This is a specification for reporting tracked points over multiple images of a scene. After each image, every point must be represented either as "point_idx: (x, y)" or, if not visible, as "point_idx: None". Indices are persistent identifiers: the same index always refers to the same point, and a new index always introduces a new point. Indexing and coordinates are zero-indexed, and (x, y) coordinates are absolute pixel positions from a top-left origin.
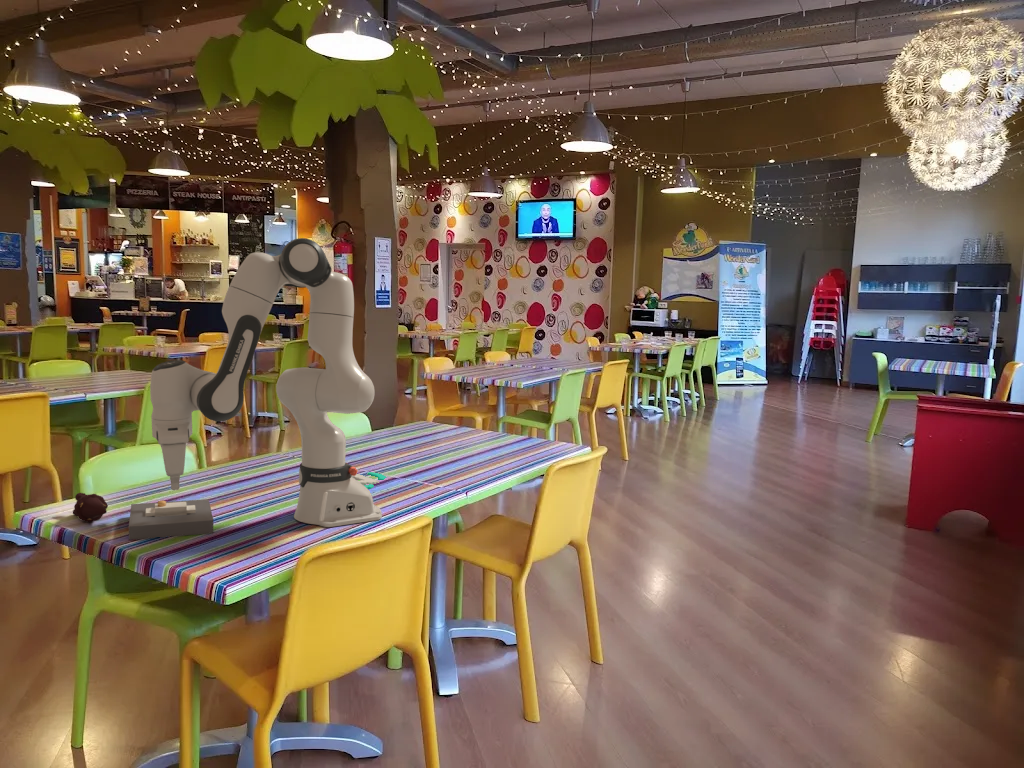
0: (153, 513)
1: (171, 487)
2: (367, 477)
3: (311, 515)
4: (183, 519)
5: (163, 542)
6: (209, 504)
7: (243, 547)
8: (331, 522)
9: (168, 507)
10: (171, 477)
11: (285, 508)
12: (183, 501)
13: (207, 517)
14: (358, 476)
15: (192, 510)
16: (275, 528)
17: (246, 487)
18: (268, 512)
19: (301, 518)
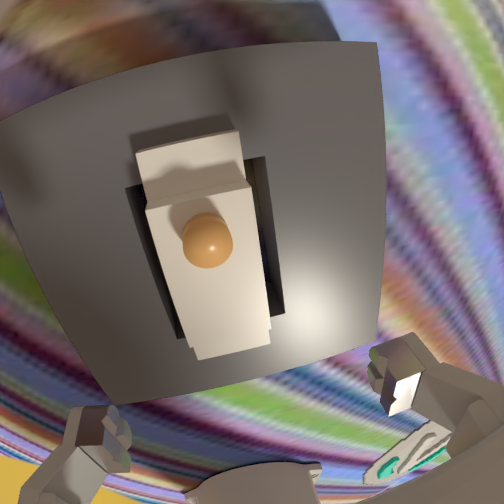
0: (145, 193)
1: (68, 419)
2: (425, 458)
3: (206, 497)
4: (102, 329)
5: (7, 254)
6: (309, 362)
7: (39, 422)
8: (190, 501)
9: (167, 277)
10: (27, 492)
11: (322, 439)
12: (374, 268)
13: (140, 390)
14: (435, 450)
15: (194, 350)
16: (175, 455)
17: (490, 330)
18: (301, 427)
19: (217, 481)
